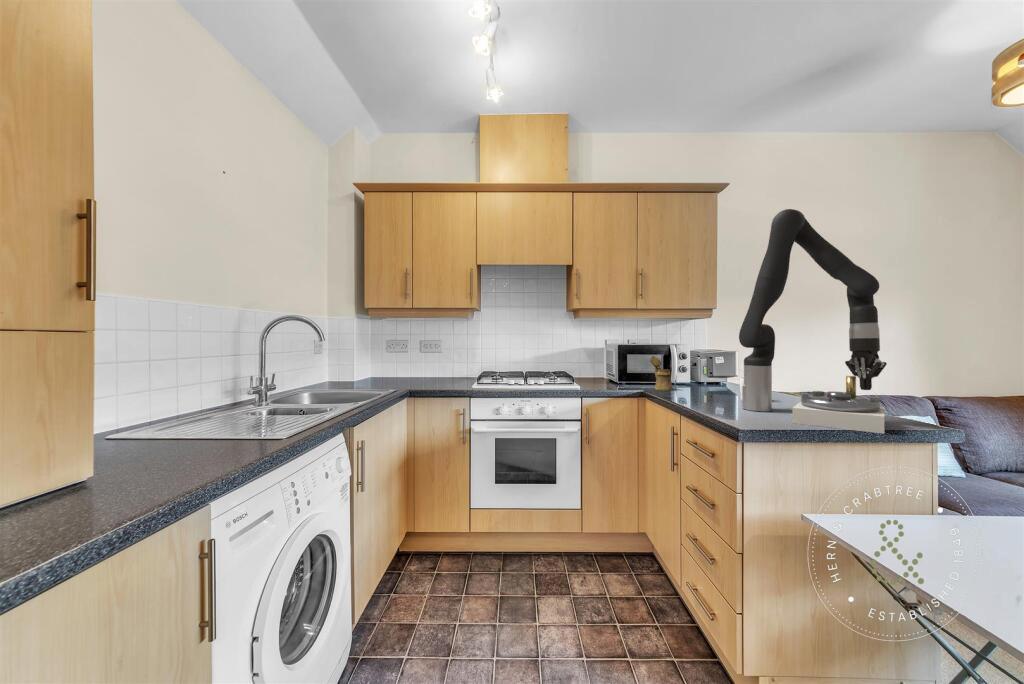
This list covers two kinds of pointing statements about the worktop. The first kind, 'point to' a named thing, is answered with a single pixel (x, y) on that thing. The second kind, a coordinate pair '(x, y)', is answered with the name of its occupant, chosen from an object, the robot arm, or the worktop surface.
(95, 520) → the worktop surface
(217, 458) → the worktop surface
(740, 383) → the white cup
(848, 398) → the handwheel with gold grip
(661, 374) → the utensil crock with spoon
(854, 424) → the block
